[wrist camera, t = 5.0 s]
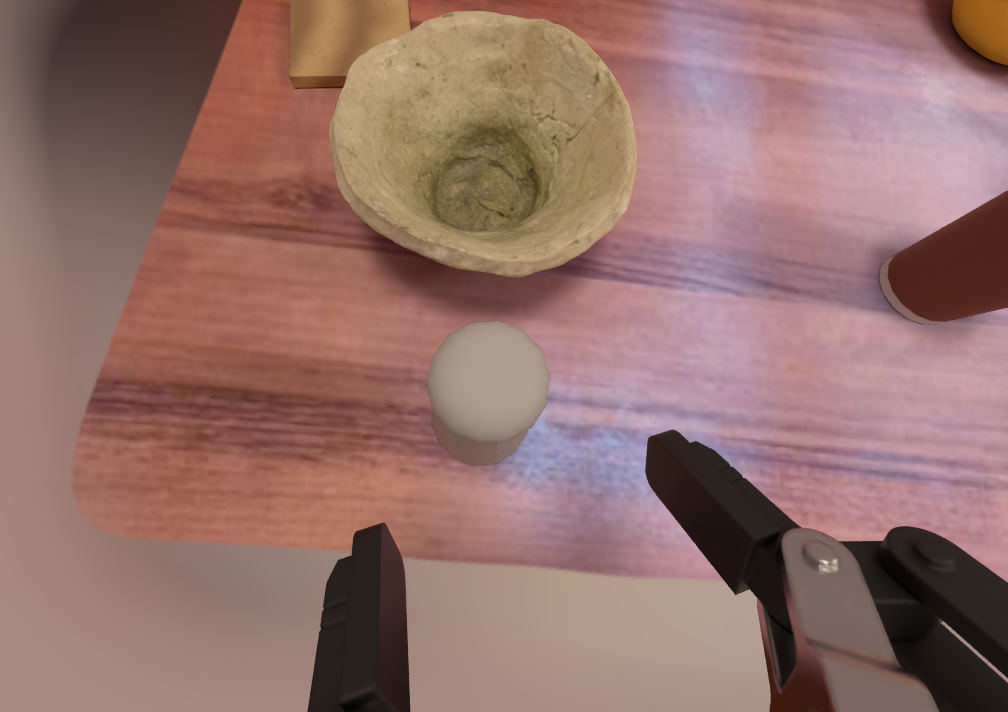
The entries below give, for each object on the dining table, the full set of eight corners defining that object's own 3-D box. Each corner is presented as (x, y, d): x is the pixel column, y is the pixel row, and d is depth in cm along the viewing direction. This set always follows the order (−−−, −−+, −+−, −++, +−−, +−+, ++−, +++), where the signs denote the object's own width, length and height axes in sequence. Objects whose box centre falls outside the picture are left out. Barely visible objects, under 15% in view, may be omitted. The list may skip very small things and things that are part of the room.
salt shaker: (517, 471, 23) (569, 483, 11) (428, 458, 23) (378, 454, 11) (528, 383, 25) (585, 306, 13) (445, 369, 25) (420, 278, 12)
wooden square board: (294, 88, 30) (288, 76, 29) (295, 3, 33) (290, -11, 32) (416, 86, 32) (415, 74, 31) (408, 4, 34) (406, -9, 33)
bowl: (567, 235, 34) (633, 307, 22) (362, 219, 31) (311, 293, 19) (607, 38, 26) (743, -13, 14) (339, -9, 23) (228, -125, 11)
